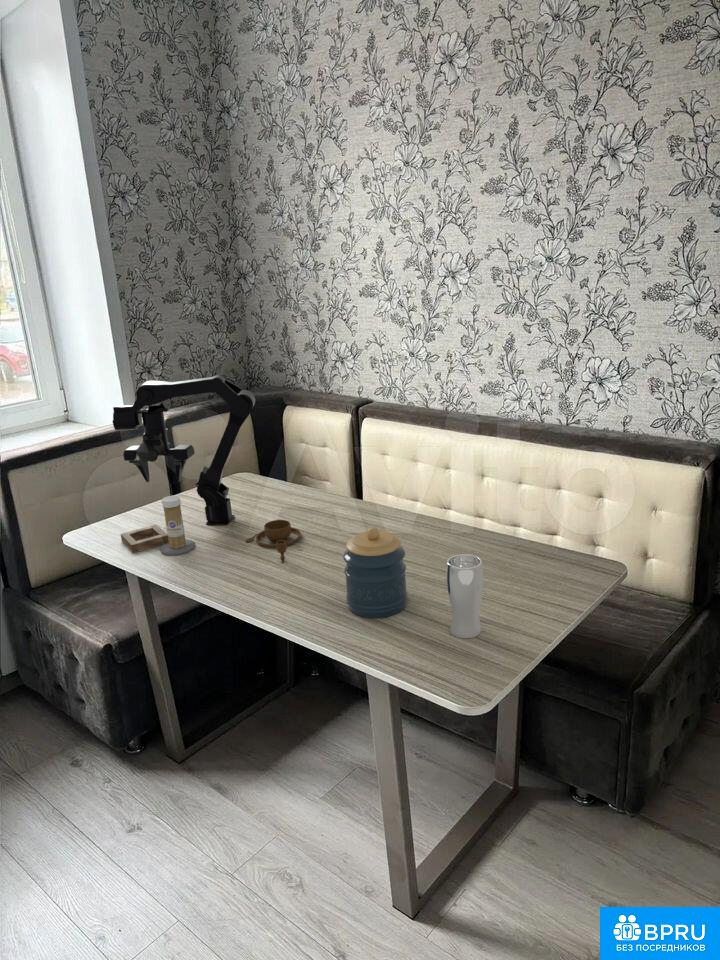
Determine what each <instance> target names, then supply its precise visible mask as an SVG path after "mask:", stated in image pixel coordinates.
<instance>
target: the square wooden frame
mask: <svg viewBox="0 0 720 960" xmlns="http://www.w3.org/2000/svg"><path fill="white" fill-rule="evenodd" d="M120 539H121V542H122V543H123V544H124V545H125V546H126V547H127V548H128V549H129V550H130V552H131V553H132V554H133V553H137V552H140V551H145V550H148V549H152V548H156V547H159V546H162V545H164V544H165V543H168V542H169V539H168V535H167V531H165V530H164V529H162V528H161V527H160V526H159V525H158V524H153V525H149V526H146V527H141V528H138V529H133V530H131V531H127V532H123V533H120Z"/></svg>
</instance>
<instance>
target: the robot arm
mask: <svg viewBox="0 0 720 960" xmlns="http://www.w3.org/2000/svg"><path fill="white" fill-rule="evenodd" d="M209 393H210V394H211V393H215V394H217V395H218V396H219V397H220V398H221V400H223V401H225V403H226V404H228V405H230V410H229V415H228V421H227V424H226V427H225V429H224V432H223V434H222V436H221V439H220V442H219V444H218V447H217V448H216V451H215V453H214V457H213V458H212V461H211V463H210V465H209V466H208V467H207V466H205V465H203V467H202V469H201V471H200V474H199V476H198V478H197V480H196V483H195V486H197V487H196V492H197V495H198V496H199V497H200V498H201V499H203V501H204V502H205V506H204V511H205V512H204V513H205V519H206V522H205V525H207V526H208V525H211V526H212V525H213V526H214V525H215V526H218V525H221V526H222V525H223V526H224V525H225V526H226V525H229V524H230V523H231V521H233V519H234V518H235V514H233V509H232V504H231V502H232V501H231V498H229V497H228V495H229V491H230V488H229V487H228V486H227V485H225V484H224V483H223V482H222V479H223V473H224V469H225V465H226V463H227V460H228V457H229V455H230V454H231V451H232V450H233V447H234V445H235V442H236V438H237V437H238V434H239V432H240V430H241V427H242V426H243V425H244V424H245V422H246V420H247V419H248V417H249V415H251V412H252V411H253V409H254V406H255V404H256V397H255V394H254V393H252V392H251V391H249V390H248V389H242V388H241V387H239V386H238V385H237V384H235V383H233V382H231V381H229V380H228V379H226V377H223V376H222V375H219V374H218V375H214V376H208V377H202V378H201V377H200V378H193V379H186V380H179V381H165V380H146V381H145V382H144V383H142V384H141V385H140V386H139V387H138V388H137V390H136V399H135V401H134V402H133V403H132V404H130V405H129V404H128V405H120V404H119V405H117V404H116V405H114V406H113V407H112V409H113V412H112V425H113V429H114V430H115V431H116V432H119V431H132V430H138V429H139V427H140V426H143V431H144V432H143V434H142V443H140V444H138V445H131V446H129V447H127V448H126V449H124V450H123V454H122V457H123V460H124V461H125V462H126V461H128V463H129V464H132V465H135V466H136V468H137V469H138V470H139V472H140V473H141V475H142V477H143V478H144V481H145V483H150V471H149V462H155V461H157V460H158V457H161V456H162V457H163V456H164V457H165V456H167V457H168V456H172V458H173V459H174V460H172V463H173V465H175V466H174V467H175V475H176V481H177V483H180V482H181V479H182V475H183V473H184V472H183V471H184V468H185V465H186V462H187V460H189V459H190V458H191V457H192V456H193V455H195V454H196V453H195V452H196V451H195V447H194V446H193V445H192V444H179V445H177V446H176V447H174V448H170V447H171V442H169V440H168V433H169V428H167V426H166V421H165V415H164V413H166V412H169V411H170V410H171V406H169V404H166V402H165V401H167V400H170V399H172V398H174V399H175V398H178V397H179V398H181V397H187V396H193V395H194V396H195V395H202V394H209ZM159 403H160V404H159ZM145 406H147V407H148V408H144V407H145ZM142 424H143V425H142ZM227 497H228V498H227Z"/></svg>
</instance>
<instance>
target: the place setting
mask: <svg viewBox="0 0 720 960" xmlns="http://www.w3.org/2000/svg"><path fill="white" fill-rule="evenodd" d="M291 526H292V525H291V522H290V521H289V520H286V519H274V520H271V521H268V522H266V523H265V524H264V525H263V529H264V530H262V531H260V532H259V533H256V534H254V535H253V536H251V537H248V538H246V539H245V543H250V542H253V541H254V538H255V541H256V543H257V544H258V545H259V546H261V547H263V548H265V549H276V551H277V552H278V553H279V554H280V560H281V562H280V563H286V560H285V559H286V556H285V553H286V552H287V549H288V547H290V546H293V545H295V544H296V543H298V542H299V541H300V539H301V536H302V532H301V531H300V530H299V529H298V528H295V527H291ZM291 533H292V534H295V535H296V536H297V538H295V539H293V540H290V541H288V542H287V541H286V540H287V539H288V538H289V537H290V536H291ZM264 537H266V538H267V539H268V540H270V541H271V542H273V544H272V543H264V542H261V541H260V540H261V539H262V538H264ZM297 551H300V552H302V551H303V550H301V549H297Z"/></svg>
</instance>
